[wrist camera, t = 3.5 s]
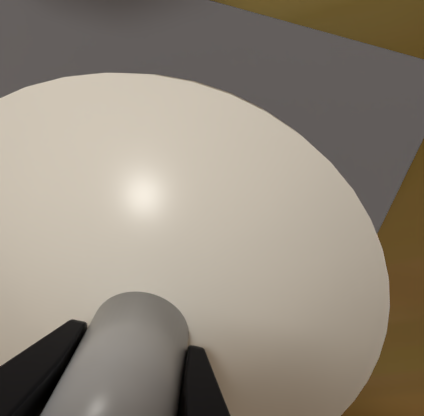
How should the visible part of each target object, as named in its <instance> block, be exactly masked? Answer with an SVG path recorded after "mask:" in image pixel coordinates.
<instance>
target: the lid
mask: <svg viewBox="0 0 424 416" xmlns="http://www.w3.org/2000/svg"><path fill="white" fill-rule="evenodd" d="M389 309H390V299H389V278H388V273H387V268H386V263H385V258H384V254H383V249H382V247H381V244H380V241H379V239H378V236H377V234H376V231H375V229H374V226H373V223H372V221H371V219H370V217H369V215H368V214H367V212H366V210H365V209H364V207H363V205H362V203H361V202H360V200H359V198H358V197H357V195H356V193H355V191H354V190H353V189H352V188H351V186H350V185H349V184H348V183H347V181H346V180H345V179H344V178H343V177H342V175H341V174H340V173H339V172H338V170H337V169H336V168H335V167H334V165H333V164H332V163H331V162H330V161H329V160H328V159H327V158H326V157H324V156H323V155H322V154H321V153H320V152H319V151H318V150H317V149H316V148H315V147H313V146H312V145H311V144H310V143H309V142H308V141H307V140H306V139H305V138H304V137H302V136H301V135H300V134H299V133H298V132H296V131H295V130H294V129H293V128H291V127H290V126H288V125H287V124H285V123H284V122H282V121H281V120H279V119H278V118H276V117H275V116H273V115H272V114H270V113H269V112H267V111H266V110H264V109H263V108H261V107H259V106H257V105H254V104H252V103H250V102H248V101H246V100H244V99H242V98H240V97H238V96H236V95H234V94H232V93H230V92H227V91H224V90H221V89H217V88H214V87H211V86H208V85H205V84H202V83H199V82H196V81H192V80H186V79H181V78H175V77H170V76H164V75H159V74H137V73H98V74H88V75H78V76H69V77H62V78H58V79H55V80H51V81H47V82H43V83H39V84H35V85H31V86H28V87H25V88H22V89H20V90H18V91H15V92H13V93H11V94H9V95H6V96H4V97H2V98H0V366H1V365H3V364H4V363H6V362H7V361H9V360H10V359H12V358H13V357H15V356H16V355H18V354H19V353H21V352H22V351H24V350H25V349H27V348H28V347H30V346H31V345H33V344H34V343H36V342H37V341H39V340H40V339H42V338H43V337H45V336H46V335H48V334H49V333H51V332H52V331H54V330H55V329H57V328H58V327H60V326H61V325H63V324H64V323H66V322H67V321H69V320H71V319H75V320H80V321H84V322H86V323H87V330H86V332H85V334H84V336H83V337H82V339H81V341H80V343H79V345H78V347H77V348H76V350H75V352H74V354H73V356H72V358H71V359H70V361H69V363H68V365H67V367H66V369H65V370H64V372H63V374H62V376H61V378H60V380H59V381H58V383H57V385H56V387H55V389H54V391H53V392H52V394H51V396H50V398H49V400H48V402H47V403H46V405H45V407H44V409H43V411H42V413H41V414H40V416H177V415H178V408H179V400H180V392H181V385H182V378H183V371H184V364H185V357H186V351H187V348H188V346H189V345H194V346H199V347H203V348H204V349H205V351H206V354H207V357H208V359H209V362H210V364H211V367H212V369H213V372H214V374H215V377H216V380H217V382H218V385H219V387H220V390H221V392H222V395H223V398H224V400H225V403H226V405H227V408H228V410H229V413H230V415H231V416H341V415H342V414H343V413H344V411H345V410H346V409H347V408H348V407H349V406H350V405H351V404H352V403H353V401H354V400H355V399H356V397H357V396H358V394H359V393H360V392H361V390H362V389H363V387H364V386H365V384H366V383H367V381H368V380H369V378H370V375H371V373H372V371H373V369H374V367H375V365H376V363H377V361H378V359H379V356H380V353H381V349H382V346H383V343H384V339H385V336H386V332H387V324H388V317H389Z"/></svg>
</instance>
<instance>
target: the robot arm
mask: <svg viewBox="0 0 424 416" xmlns="http://www.w3.org/2000/svg"><path fill="white" fill-rule="evenodd" d="M86 330H87V323H86V322H84V321H80V320H75V319H71V320H69V321H67V322H66V323H64V324H63V325H61V326H60V327H58V328H57V329H55V330H54V331H52V332H51V333H49V334H48V335H46V336H45V337H43V338H42V339H40V340H39V341H37V342H36V343H34V344H33V345H31V346H30V347H28V348H27V349H25V350H24V351H22V352H21V353H19V354H18V355H16V356H15V357H13V358H12V359H10V360H9V361H7V362H6V363H4V364H3V365H1V366H0V416H40V414H41V413H42V411H43V409H44V407H45V405H46V403H47V402H48V400H49V398H50V396H51V394H52V392H53V391H54V389H55V387H56V385H57V383H58V381H59V380H60V378H61V376H62V374H63V372H64V370H65V369H66V367H67V365H68V363H69V361H70V359H71V358H72V356H73V354H74V352H75V350H76V348H77V347H78V345H79V343H80V341H81V339H82V337H83V336H84V334H85V332H86ZM177 416H231V415H230V413H229V410H228V408H227V405H226V403H225V400H224V398H223V395H222V392H221V390H220V387H219V385H218V382H217V380H216V377H215V374H214V372H213V369H212V367H211V364H210V362H209V359H208V357H207V354H206V351H205V349H204V348H203V347H199V346H194V345H189V346H188V348H187V351H186V357H185V364H184V371H183V378H182V385H181V392H180V400H179V408H178V415H177Z"/></svg>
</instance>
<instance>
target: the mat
mask: <svg viewBox="0 0 424 416" xmlns="http://www.w3.org/2000/svg"><path fill="white" fill-rule="evenodd" d="M98 73H137V74H159V75H164V76H170V77H175V78H181V79H186V80H192V81H196V82H199V83H202V84H205V85H208V86H211V87H214V88H217V89H221V90H224V91H227V92H230V93H232V94H234V95H236V96H238V97H240V98H242V99H244V100H246V101H248V102H250V103H252V104H254V105H257V106H259V107H261V108H263V109H264V110H266V111H267V112H269V113H270V114H272V115H273V116H275V117H276V118H278V119H279V120H281V121H282V122H284V123H285V124H287V125H288V126H290V127H291V128H293V129H294V130H295V131H296V132H298V133H299V134H300V135H301V136H302V137H304V138H305V139H306V140H307V141H308V142H309V143H310V144H311V145H312V146H313V147H315V148H316V149H317V150H318V151H319V152H320V153H321V154H322V155H323V156H324V157H326V158H327V159H328V160H329V161H330V162H331V163H332V164H333V165H334V167H335V168H336V169H337V170H338V172H339V173H340V174H341V175H342V177H343V178H344V179H345V180H346V181H347V183H348V184H349V185H350V186H351V188H352V189H353V190H354V191H355V193H356V195H357V197H358V198H359V200H360V202H361V203H362V205H363V207H364V209H365V210H366V212H367V214H368V215H369V217H370V219H371V221H372V223H373V226H374V229H375V231H376V234H377V233H378V231H379V229H380V227H381V225H382V223H383V221H384V218H385V216H386V214H387V212H388V210H389V208H390V206H391V204H392V202H393V200H394V198H395V196H396V194H397V192H398V190H399V188H400V186H401V184H402V181H403V179H404V177H405V175H406V173H407V171H408V169H409V167H410V165H411V163H412V161H413V159H414V157H415V155H416V153H417V151H418V149H419V147H420V145H421V142H422V140H423V138H424V60H423V59H420V58H416V57H413V56H409V55H405V54H402V53H398V52H395V51H391V50H387V49H384V48H380V47H376V46H373V45H369V44H366V43H362V42H358V41H355V40H351V39H348V38H344V37H340V36H337V35H333V34H329V33H326V32H322V31H319V30H315V29H311V28H308V27H304V26H300V25H297V24H293V23H290V22H286V21H282V20H279V19H275V18H272V17H268V16H264V15H261V14H257V13H253V12H250V11H246V10H243V9H239V8H235V7H232V6H228V5H225V4H221V3H217V2H214V1H210V0H0V98H2V97H4V96H6V95H9V94H11V93H13V92H15V91H18V90H20V89H22V88H25V87H28V86H31V85H35V84H39V83H43V82H47V81H51V80H55V79H58V78H62V77H69V76H78V75H88V74H98Z"/></svg>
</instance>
